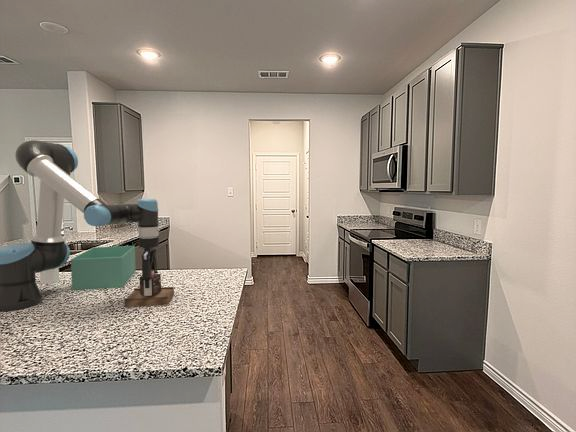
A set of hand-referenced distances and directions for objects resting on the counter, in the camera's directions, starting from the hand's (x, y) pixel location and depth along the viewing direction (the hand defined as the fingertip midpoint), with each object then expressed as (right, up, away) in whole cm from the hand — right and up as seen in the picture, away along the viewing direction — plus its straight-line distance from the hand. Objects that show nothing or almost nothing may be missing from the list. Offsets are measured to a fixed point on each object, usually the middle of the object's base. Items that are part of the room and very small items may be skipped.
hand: (150, 292), depth 134 cm
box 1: (-35, -1, +31) cm, 46 cm away
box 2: (0, -1, 0) cm, 1 cm away
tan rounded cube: (0, +7, -1) cm, 7 cm away
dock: (0, -3, 0) cm, 3 cm away
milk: (-60, -1, +26) cm, 66 cm away
